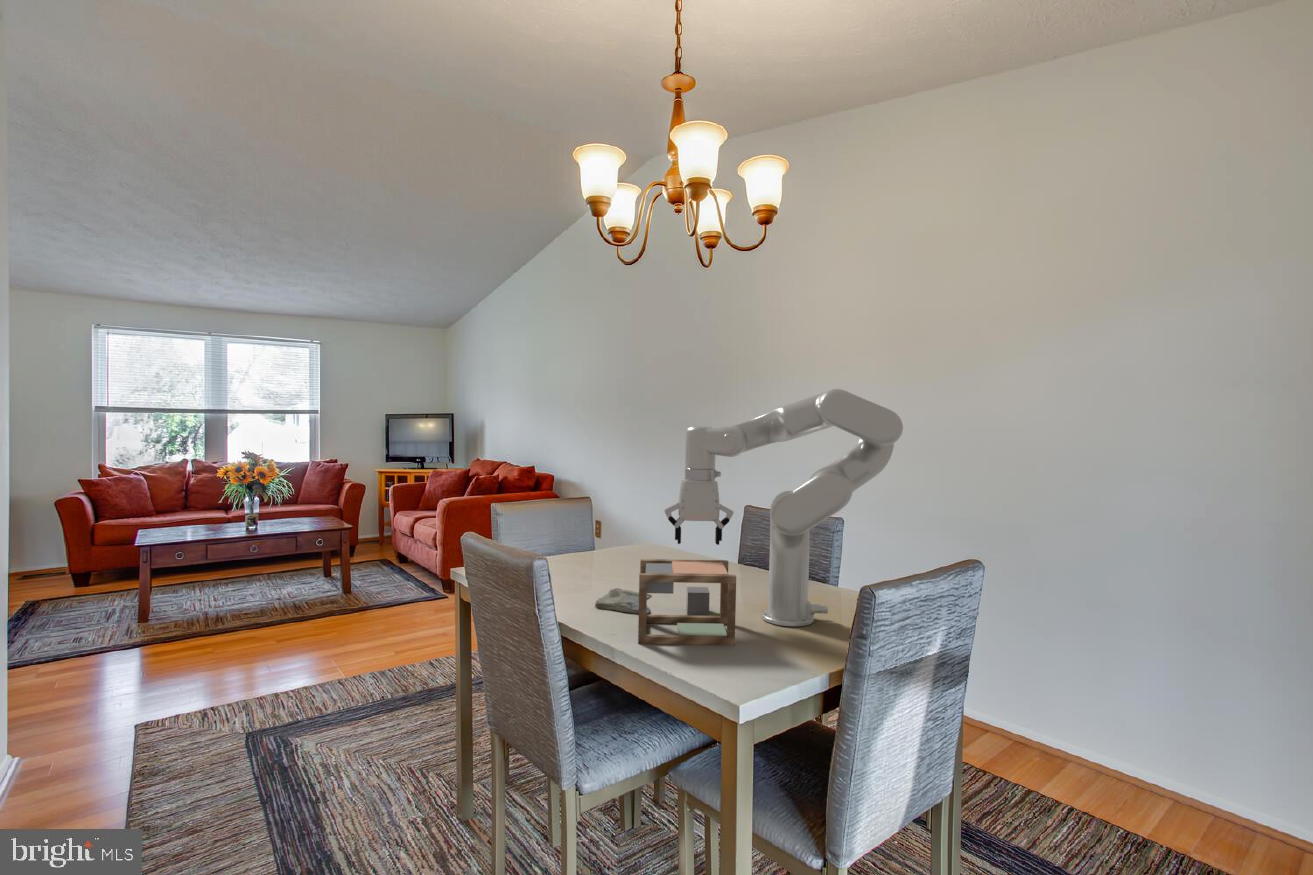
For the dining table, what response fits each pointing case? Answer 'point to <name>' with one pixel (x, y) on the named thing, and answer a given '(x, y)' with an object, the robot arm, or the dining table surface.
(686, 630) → the mat
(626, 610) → the fossil rock
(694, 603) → the grey block
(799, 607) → the robot arm
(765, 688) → the dining table surface
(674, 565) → the trapdoor
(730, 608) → the stand
